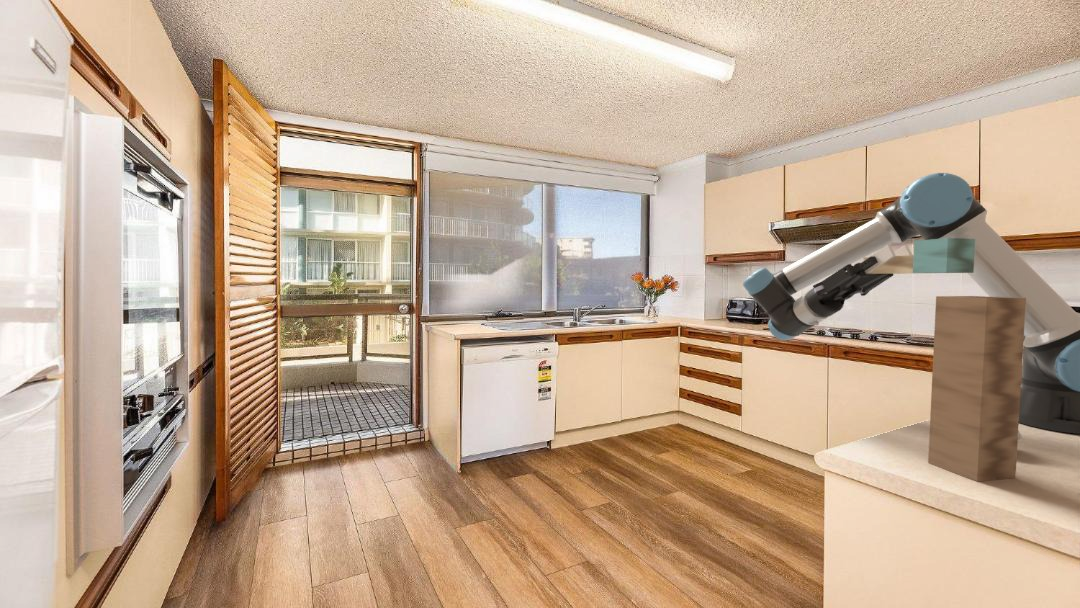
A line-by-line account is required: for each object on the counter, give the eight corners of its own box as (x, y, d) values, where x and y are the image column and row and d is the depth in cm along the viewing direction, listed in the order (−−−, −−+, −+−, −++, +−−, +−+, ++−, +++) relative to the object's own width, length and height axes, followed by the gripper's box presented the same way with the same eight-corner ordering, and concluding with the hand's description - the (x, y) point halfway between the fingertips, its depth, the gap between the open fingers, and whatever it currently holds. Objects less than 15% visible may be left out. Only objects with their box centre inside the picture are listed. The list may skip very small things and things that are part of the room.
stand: (964, 459, 87) (972, 296, 85) (1015, 477, 79) (1025, 298, 77) (928, 462, 85) (936, 296, 83) (976, 481, 77) (986, 298, 76)
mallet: (881, 273, 101) (882, 245, 101) (973, 272, 84) (975, 238, 84) (857, 273, 100) (858, 245, 100) (946, 272, 83) (947, 238, 82)
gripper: (853, 317, 115) (942, 267, 94) (794, 318, 111) (873, 266, 91) (841, 290, 118) (925, 235, 97) (783, 290, 115) (858, 234, 94)
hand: (900, 250), depth 94 cm, fingers closed on mallet, 3 cm apart
